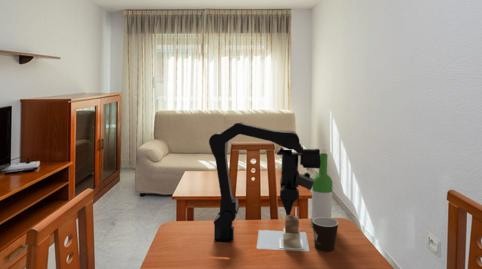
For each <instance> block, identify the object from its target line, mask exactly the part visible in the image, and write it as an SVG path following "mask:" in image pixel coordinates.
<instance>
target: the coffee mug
mask: <svg viewBox="0 0 482 269" xmlns="http://www.w3.org/2000/svg"><path fill="white" fill-rule="evenodd" d="M338 228H339V221H338V220H336V219H334V218H332V217H331V218H327V217H318V218H314V219H313V227H312V230H313V242H314V248H315V250H317V251H319V252H322V253H323V252H324V253H330V252H333V251H335V245H336V240H337V239H336V238H337V235H338Z"/></svg>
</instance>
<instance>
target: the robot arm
mask: <svg viewBox="0 0 482 269" xmlns="http://www.w3.org/2000/svg"><path fill="white" fill-rule="evenodd" d="M238 135H242V136H247V137H251V138H254V139H255V138H256V139H259V140H263V141H269V142H271V143H274V144H276V145H278V146H280V148H279V149H278V150H277V151H276V155H277V156H281V168H280V170H281V171H280V172H281V174H280V183H279V184H280V189H279V199H280V201H281V202H282V206H283V208H284V210H285V214H286V216H291V212H292V209H293V205H294V203H295V201H297V200H299V198H300V190H299V189H298V188H299V186H300V187H303V188H306V189H307V190H308V191H312V187H313V184H314V178H312V177H311V174H310V173H309V172H304V173H299V171H300V170H299V165H300V166H302V167H303V169H318V170H319V169H320V164H321V160H320V154H321V150H320V149H319V148H304V146H303V145H302V143H300V137H299V135H298V133H297V132H296V131H293V130H281V129H280V130H275V129H270V128H265V127H261V126H256V125H251V124H248V123H243V122H242V121H237V122H235V123H234V124H233V125H232V126H230V127H228V128H227V129H225V130H224V131H216V132H215V133H214V134H212V135H211V136H210V137H209V140H208V144H209V148H210V151H211V153H212V155H213V157H214V160H215V164H216V166H215V167H216V170H217V171H216V172H217V179H218V186H219V193H220V203H219V204H220V205H219V212H218V213H217V215H216V217H215V219H214V221H213V225H214V234H213V235H214V238H213V242H214V243H232V241H233V240H234V238H235V226H233V222H234V221H235V219H236V217H237V214H238V212H239V210H240V205H239V197H234V195H233V191H232V184H231V177H230V170H229V164H228V163H229V162H228V149H229V141H231V140H233V138H235V137H237V136H238Z"/></svg>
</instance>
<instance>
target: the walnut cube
mask: <svg viewBox="0 0 482 269" xmlns="http://www.w3.org/2000/svg"><path fill="white" fill-rule="evenodd" d="M284 217H285V218H284V220H285V222H284V227H285V233H298V230H299V231H300V228H299V227H300V226H299V224H300V219H299V216H298V215H285V216H284Z"/></svg>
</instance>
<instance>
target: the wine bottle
mask: <svg viewBox="0 0 482 269" xmlns="http://www.w3.org/2000/svg"><path fill="white" fill-rule="evenodd" d="M320 160H321V164H320V169H318V173H317V175H315V176H314V177H313V180H314V184H313V186H312V189H311V191H312V192H311V193H312V195H311V213H310V214H311V217H310V218H311V219H310V222H311V223H310V225H311V227H312V228H313V219H314V218H318V217H327V218H332V210H333V207H332V206H333V205H332V204H333V203H332V202H333V186H334V185H333V180H332V178H331V176H330V175H329V174H328V153H323V152H322V153H321V152H320Z"/></svg>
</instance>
